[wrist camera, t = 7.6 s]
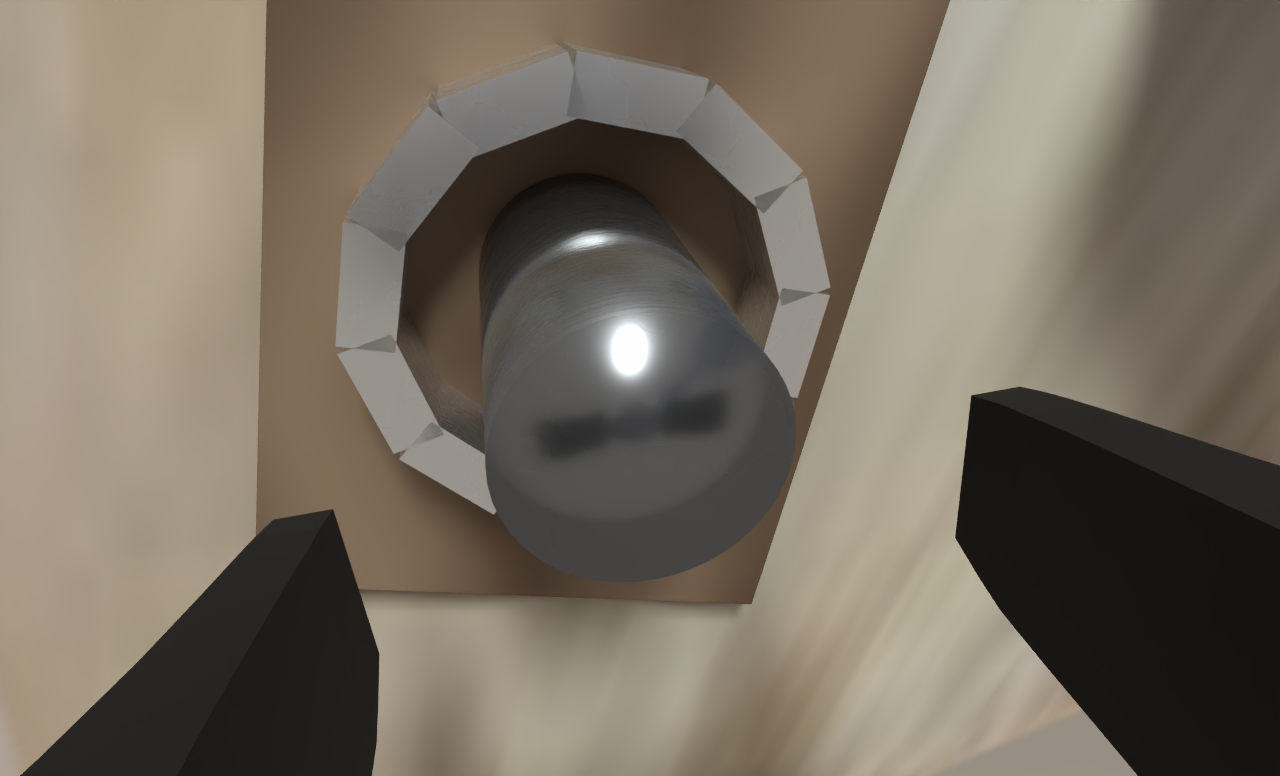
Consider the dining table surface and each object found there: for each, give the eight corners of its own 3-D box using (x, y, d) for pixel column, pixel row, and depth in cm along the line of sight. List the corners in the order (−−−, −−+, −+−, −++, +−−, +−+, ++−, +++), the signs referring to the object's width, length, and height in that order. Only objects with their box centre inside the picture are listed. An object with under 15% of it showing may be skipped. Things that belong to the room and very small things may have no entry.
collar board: (949, -80, 16) (1046, -93, 13) (739, 579, 22) (777, 659, 20) (286, -275, 13) (239, -343, 10) (264, 557, 19) (233, 649, 16)
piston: (656, 150, 16) (778, 274, 9) (691, 335, 18) (810, 536, 11) (451, 202, 15) (441, 363, 9) (510, 383, 17) (533, 615, 11)
